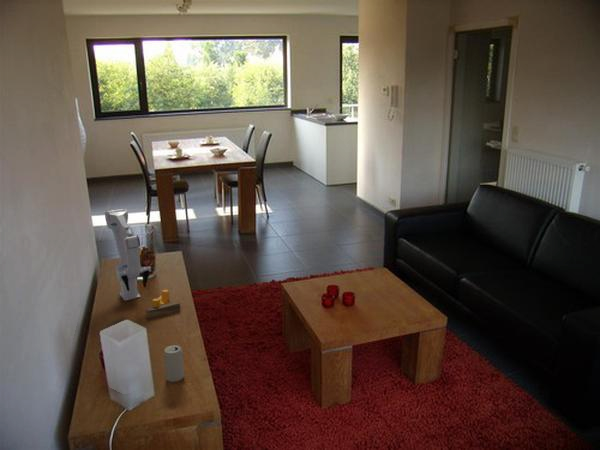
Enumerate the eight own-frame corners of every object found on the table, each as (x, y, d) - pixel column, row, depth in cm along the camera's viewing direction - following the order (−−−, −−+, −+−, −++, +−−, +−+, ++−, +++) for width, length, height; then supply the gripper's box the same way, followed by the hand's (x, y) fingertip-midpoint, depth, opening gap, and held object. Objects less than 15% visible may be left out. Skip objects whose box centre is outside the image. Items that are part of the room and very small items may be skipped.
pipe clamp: (161, 301, 243) (160, 289, 241) (169, 302, 242) (168, 290, 240) (150, 312, 232) (148, 300, 230) (158, 313, 231) (157, 300, 229)
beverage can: (185, 381, 179) (182, 351, 176) (166, 384, 177) (163, 354, 174) (183, 371, 185) (181, 343, 182) (165, 374, 183) (163, 345, 180)
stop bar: (146, 316, 228) (145, 309, 227) (178, 308, 236) (178, 301, 235) (148, 318, 226) (147, 311, 225) (180, 310, 234) (179, 303, 233)
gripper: (119, 266, 224) (122, 294, 228) (151, 260, 231) (154, 287, 235) (115, 262, 230) (118, 289, 234) (147, 256, 237) (150, 282, 241)
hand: (136, 288), depth 235 cm, fingers open, 7 cm apart
